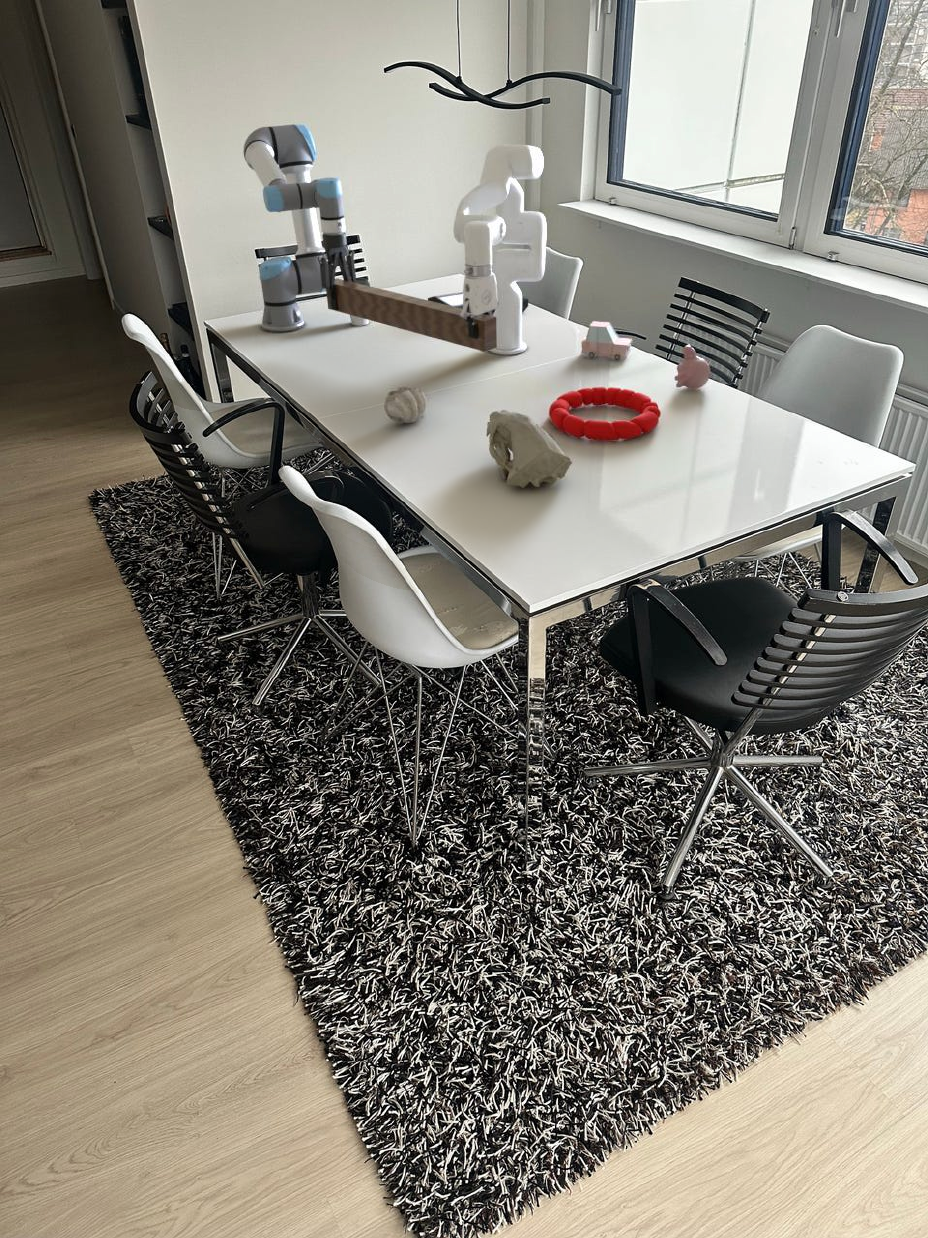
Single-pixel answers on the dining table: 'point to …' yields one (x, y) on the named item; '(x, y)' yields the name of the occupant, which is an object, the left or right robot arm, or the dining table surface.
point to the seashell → (405, 405)
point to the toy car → (605, 342)
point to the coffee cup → (354, 319)
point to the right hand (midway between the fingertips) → (480, 334)
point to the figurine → (692, 370)
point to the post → (413, 314)
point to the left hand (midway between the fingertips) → (341, 307)
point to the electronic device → (457, 300)
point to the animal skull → (525, 450)
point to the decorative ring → (604, 428)
